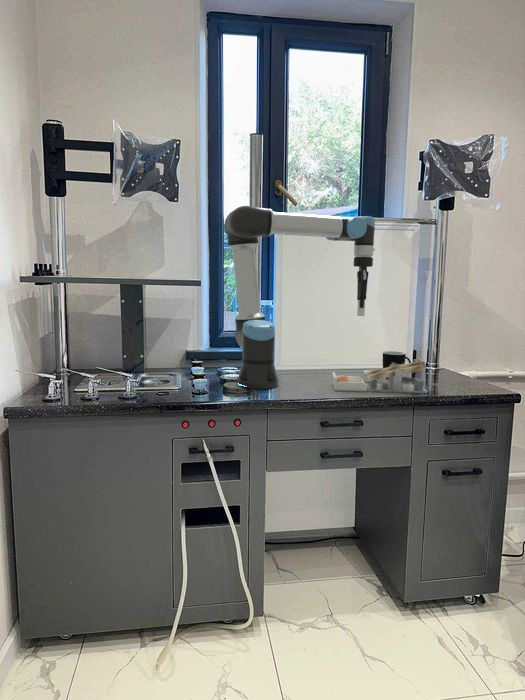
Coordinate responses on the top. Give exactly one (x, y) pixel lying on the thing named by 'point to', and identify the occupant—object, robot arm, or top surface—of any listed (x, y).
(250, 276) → the robot arm
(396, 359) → the mug
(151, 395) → the top surface
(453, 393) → the top surface
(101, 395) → the top surface
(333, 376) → the dish
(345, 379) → the ball
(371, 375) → the wooden ramp
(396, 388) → the stand
